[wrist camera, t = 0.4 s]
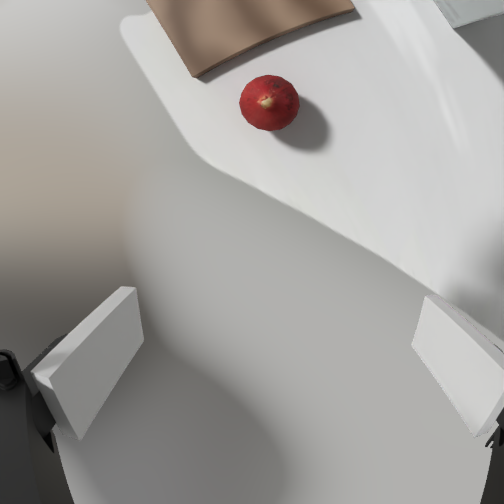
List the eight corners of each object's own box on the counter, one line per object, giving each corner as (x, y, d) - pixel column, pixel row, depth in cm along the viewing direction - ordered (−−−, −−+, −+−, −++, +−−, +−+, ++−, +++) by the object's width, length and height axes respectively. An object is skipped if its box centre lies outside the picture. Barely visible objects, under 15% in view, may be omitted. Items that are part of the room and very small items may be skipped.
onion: (264, 70, 27) (256, 57, 20) (307, 98, 28) (314, 93, 21) (235, 111, 30) (220, 111, 23) (278, 138, 31) (276, 146, 24)
